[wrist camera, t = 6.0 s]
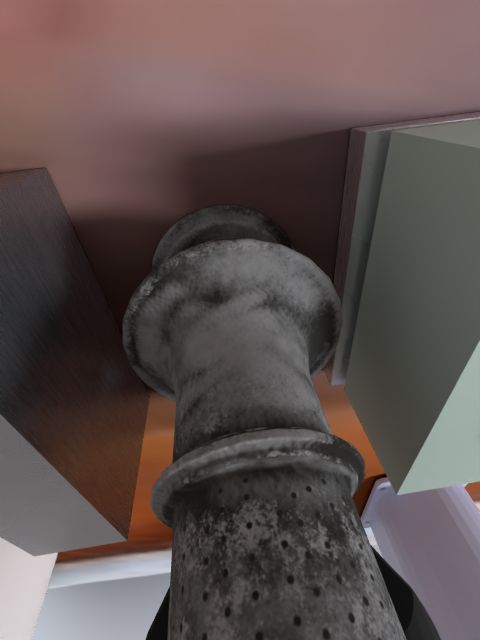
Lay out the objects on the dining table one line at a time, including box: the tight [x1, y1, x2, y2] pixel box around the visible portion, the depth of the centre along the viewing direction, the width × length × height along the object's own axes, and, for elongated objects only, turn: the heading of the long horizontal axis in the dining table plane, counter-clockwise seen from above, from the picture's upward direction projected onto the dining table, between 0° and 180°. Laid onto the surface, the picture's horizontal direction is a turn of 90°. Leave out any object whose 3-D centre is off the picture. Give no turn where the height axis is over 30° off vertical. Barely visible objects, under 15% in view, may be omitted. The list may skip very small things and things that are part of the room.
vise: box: [0, 112, 480, 556], centre depth 9 cm, size 10×22×6 cm, turn 96°
